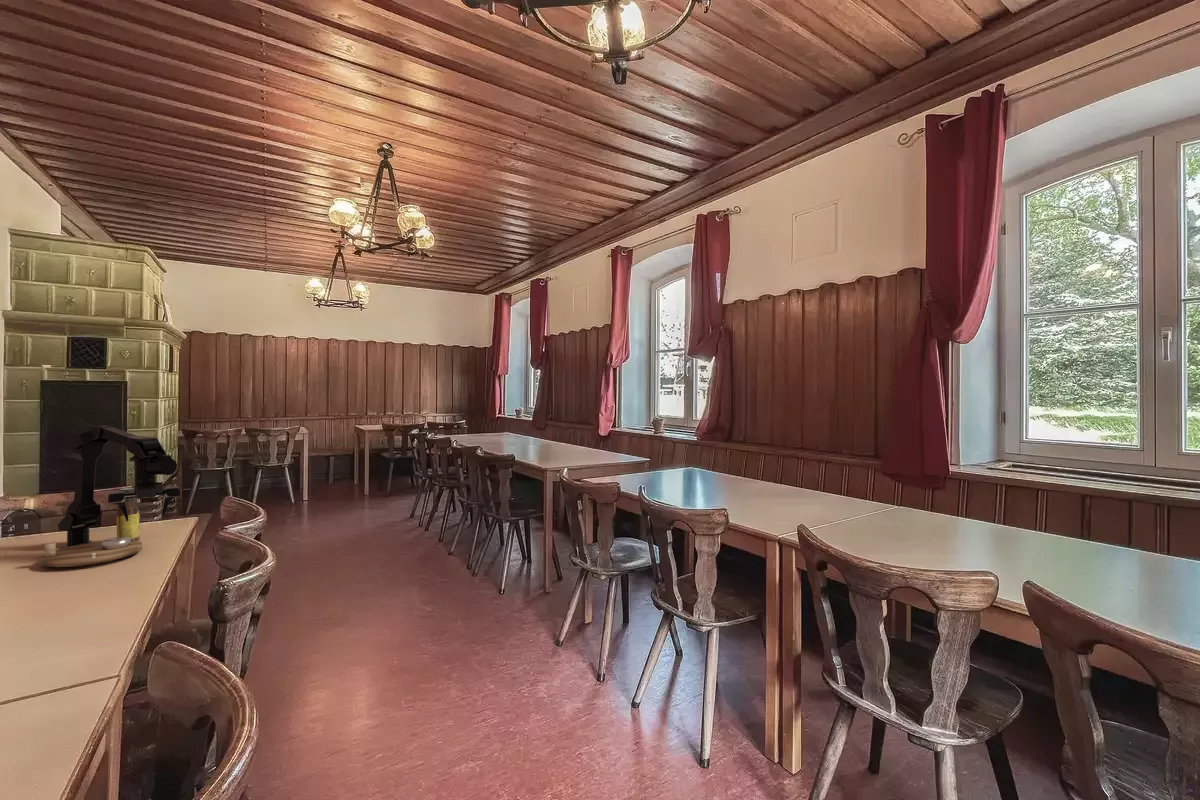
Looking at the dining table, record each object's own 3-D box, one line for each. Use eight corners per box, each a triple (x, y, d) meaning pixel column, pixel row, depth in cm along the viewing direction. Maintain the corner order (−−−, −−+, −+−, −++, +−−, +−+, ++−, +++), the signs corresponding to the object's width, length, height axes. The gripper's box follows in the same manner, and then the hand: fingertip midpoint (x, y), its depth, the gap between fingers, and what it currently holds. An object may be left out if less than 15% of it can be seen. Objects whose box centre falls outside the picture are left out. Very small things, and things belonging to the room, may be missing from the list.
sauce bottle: (144, 540, 194) (144, 487, 193) (127, 545, 187) (127, 490, 187) (128, 539, 194) (128, 486, 194) (111, 544, 188) (111, 489, 188)
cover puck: (102, 546, 176) (102, 539, 176) (129, 542, 181) (129, 535, 181) (102, 551, 171) (102, 543, 171) (130, 547, 176) (130, 539, 176)
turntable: (43, 553, 173) (43, 537, 172) (139, 540, 189) (139, 525, 189) (37, 572, 155) (37, 553, 155) (144, 555, 172) (144, 538, 172)
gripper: (107, 479, 168) (108, 527, 168) (181, 474, 181) (181, 518, 181) (108, 475, 176) (108, 521, 177) (178, 470, 189) (178, 513, 189)
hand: (145, 518), depth 181 cm, fingers open, 9 cm apart
